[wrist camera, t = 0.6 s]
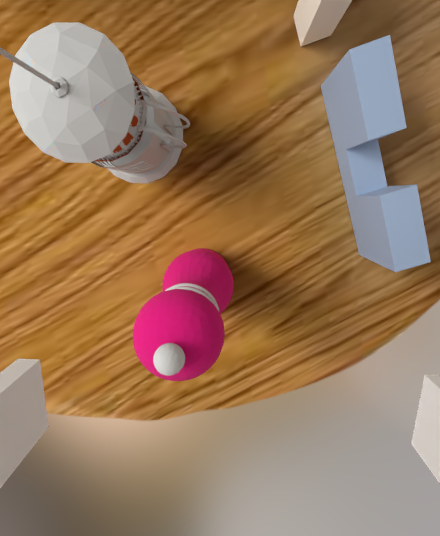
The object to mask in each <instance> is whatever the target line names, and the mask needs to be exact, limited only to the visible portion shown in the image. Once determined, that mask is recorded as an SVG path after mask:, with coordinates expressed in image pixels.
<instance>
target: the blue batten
mask: <svg viewBox="0 0 440 536" xmlns="http://www.w3.org/2000/svg"><path fill="white" fill-rule="evenodd" d="M321 90H322V94H323V99H324V103H325V108H326V112H327V116H328V121H329V125H330V129H331V134H332V138H333V142H334V147H335V151H336V156H337V160H338V164H339V169H340V173H341V177H342V182H343V186H344V191H345V195H346V199H347V204H348V208H349V212H350V217H351V221H352V226H353V230H354V234H355V239H356V243H357V247H358V252H359V255H360V256H362V257H364V258H367V259H369V260H371V261H373V262H375V263H377V264H379V265H381V266H383V267H386V268H388V269H390V270H392V271H394V272H398V271H401V270H405V269H408V268H412V267H415V266H419V265H422V264H426V263H429V262H431V260H430V255H429V249H428V244H427V238H426V233H425V227H424V221H423V216H422V210H421V205H420V199H419V194H418V188H417V185H400V186H387V182H386V177H385V172H384V167H383V162H382V157H381V152H380V147H379V142H378V139H380V138H382V137H385V136H387V135H390V134H392V133H395V132H398V131H400V130H403V129H405V128H407V127H406V122H405V116H404V110H403V105H402V99H401V94H400V88H399V83H398V77H397V72H396V66H395V60H394V55H393V49H392V44H391V38H390V35H388V36H385V37H382V38H379V39H377V40H374V41H371V42H369V43H366V44H363V45H360V46H358V47H355V48H352V49H349V51H348V52H347V53H346V54H345V56H344V57H343V58H342V60H341V61H340V62H339V63H338V65H337V66H336V67H335V68H334V70H333V71H332V72H331V74H330V75H329V76H328V77H327V79H326V80H325V81H324V82H323V84H322V85H321Z"/></svg>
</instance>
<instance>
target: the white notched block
mask: <svg viewBox="0 0 440 536" xmlns="http://www.w3.org/2000/svg"><path fill="white" fill-rule="evenodd" d="M351 2H352V0H299V1H298V4H297V7H296V10H295V13H294V21H295V25H296V29H297V33H298V38H299V42H300V46H301V47H302V46H304V45H307V44H310V43H312V42H315V41H318V40H320V39H323V38H326V37H328V36H331V35H332V33H333V31H334V30H335V28H336V26H337V25H338V23H339V21H340V20H341V18H342V17H343V15H344V13H345V12H346V10H347V8H348V7H349V5H350V3H351Z"/></svg>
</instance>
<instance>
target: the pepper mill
mask: <svg viewBox="0 0 440 536" xmlns="http://www.w3.org/2000/svg"><path fill="white" fill-rule="evenodd" d="M233 290H234V281H233V276H232V273H231V270H230V269H229V267H228V265H227V263H226V262H225V260H224V259H223V257H221V256H220V255H219V254H218V253H216V252H214V251H212V250H209V249H195V250H192V251H189V252H186V253H183V254H181V255H179V256H178V257H177V258H175V259H174V260H173V261H172V262H171V264H170V265H169V267H168V269H167V271H166V273H165V275H164V279H163V292H161V293H159V294H158V295H156V296H154V297H152V298H151V299H150V300H149V301H148V302H147V303H146V304H145V305H144V306H143V307H142V309H141V310H140V312H139V314H138V316H137V318H136V321H135V324H134V329H133V343H134V349H135V352H136V354H137V357H138V358H139V360H140V362H141V363H142V364H143V365H144V366H145V368H146V369H147V370H148V371H150V372H151V373H153V374H154V375H156V376H158V377H160V378H162V379H166V380H171V381H184V380H189V379H193V378H196V377H198V376H199V375H201V374H203V373H205V372H206V371H207V370H208V369H209V368H210V367H211V366H212V365H213V364H214V363H215V362H216V360H217V358H218V357H219V355H220V352H221V349H222V346H223V343H224V334H225V333H224V325H223V320H222V318H221V315H220V314H221V313H222V312H223V311H224V310H225V309H226V307H227V306H228V305H229V303H230V300H231V298H232V294H233Z"/></svg>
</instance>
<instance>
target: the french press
mask: <svg viewBox="0 0 440 536" xmlns="http://www.w3.org/2000/svg"><path fill="white" fill-rule="evenodd" d="M0 54H1V55H3V56H4V57H6V58H8V59H9V60H11V61H13V62H14V63H13V67H12V71H11V76H10V80H9V84H10V92H11V100H12V108H13V111H14V113H15V115H16V117H17V119H18V121H19V123H20V125H21V127H22V129H23V131H24V133H25V134H26V135H27V136H28V137H29V138H30V139H31V140H32V141H33V142H34V143H35V144H36V145H37V146H38V147H39V148H40V149H41V150H42V151H43V152H44V153H46V154H48V155H51V156H53V157H55V158H57V159H60V160H62V161H64V162H74V163H90V162H92V163H94V164H96V165H98V166H100V167H103V168H108V169H109V170H110V171H111V172H112V173H113V174H114V175H115V176H116V177H119V178H121V179H123V180H126V181H128V182H130V183H150V182H153V181H155V180H157V179H160V178H162V177H164V176H165V175H166V174H167V173H168V172H169V171H170V170H171V169H172V168H173V167H174V166H175V165H176V164H177V161H178V158H179V156H180V153H181V150H182V148H185V147H186V146H187V144H186V143H185V142H184V141H183V129H185V128H188V127H189V126H190V122H189V120H188V119H187V118H186V117H185V116H183V115H181V114H179V113H177V110H176V108H175V107H174V106H173V105H172V104H171V102H170V101H169V100H168V99H167V98H166V97H165V96H164V95H163V94H162V93H160V92H158V91H155V90H153V89H151V88H149V87H147V86H144V84H143V83H142V82H141V81H140V80H139V79H138V78H137V77H136V76H134V75H133V74H132V73H131V72H130V71H129V68H128V65H127V63H126V60H125V57H124V55H123V54H122V53H121V52H120V51H119V50H118V49H117V47H116V46H115V45H114V44H113V43H112V42H111V41H110V40H109V39H108V38H107V37H106V36H105V34H103V33H101V32H99V31H96V30H94V29H92V28H90V27H88V26H86V25H84V24H81V23H52V24H50V25H48V26H46V27H44V28H42V29H40V30H38V31H36V32H34V33H32V34H31V35H30V36H29V37H28V39H27V40H26V41H25V43H24V44H23V46H22V47H21V48H20V50H19V51H18V52H17V54H16V55H15V56H13V55H12V54H10V53H8V52H7V51H5V50H4V49H2V48H0ZM131 75H132V76H133V77H132V76H131ZM135 78H136V79H137V80H136V79H135ZM135 80H136V81H137V82H136V81H135ZM138 82H139V83H140V84H141V83H142V84H143V85H142V84H141V85H142V86H141V85H140V84H139V83H138ZM138 85H140V86H138ZM179 117H180V118H181V119H183V120H184V121H186V123H187V124H186V125H182V123H181V120H180V118H179ZM95 161H96V162H95ZM99 161H101V162H102V163H103V164H104V165H103V164H102V163H101V162H99ZM97 162H98V163H99V164H98V163H97ZM100 164H101V165H100ZM102 165H103V166H102ZM104 166H105V167H104Z"/></svg>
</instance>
